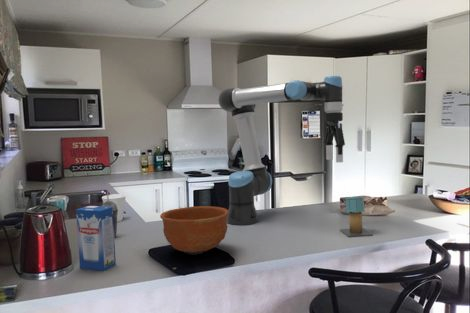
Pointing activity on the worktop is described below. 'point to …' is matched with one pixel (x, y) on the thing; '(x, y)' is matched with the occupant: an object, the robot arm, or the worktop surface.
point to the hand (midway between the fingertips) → (334, 160)
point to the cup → (117, 203)
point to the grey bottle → (115, 212)
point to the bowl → (195, 227)
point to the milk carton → (96, 237)
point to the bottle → (355, 226)
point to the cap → (354, 204)
